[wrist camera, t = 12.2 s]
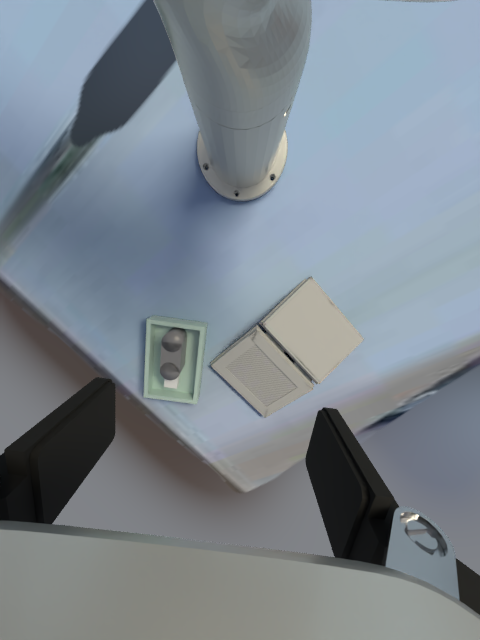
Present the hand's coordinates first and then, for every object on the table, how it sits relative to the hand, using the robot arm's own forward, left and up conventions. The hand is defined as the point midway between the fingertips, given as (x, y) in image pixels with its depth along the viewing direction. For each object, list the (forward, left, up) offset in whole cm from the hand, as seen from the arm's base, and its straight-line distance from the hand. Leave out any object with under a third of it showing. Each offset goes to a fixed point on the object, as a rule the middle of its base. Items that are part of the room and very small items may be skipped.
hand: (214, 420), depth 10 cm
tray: (+11, -9, -28) cm, 32 cm away
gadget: (+7, +10, -29) cm, 32 cm away
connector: (+10, -9, -28) cm, 31 cm away
